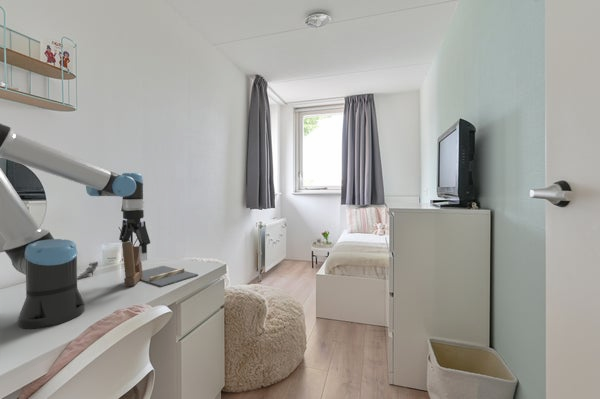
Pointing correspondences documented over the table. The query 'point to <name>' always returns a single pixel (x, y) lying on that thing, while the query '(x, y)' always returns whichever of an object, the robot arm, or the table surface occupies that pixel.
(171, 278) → the mat
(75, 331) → the table surface
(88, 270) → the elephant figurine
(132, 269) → the brown wooden bracket
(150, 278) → the kerb
